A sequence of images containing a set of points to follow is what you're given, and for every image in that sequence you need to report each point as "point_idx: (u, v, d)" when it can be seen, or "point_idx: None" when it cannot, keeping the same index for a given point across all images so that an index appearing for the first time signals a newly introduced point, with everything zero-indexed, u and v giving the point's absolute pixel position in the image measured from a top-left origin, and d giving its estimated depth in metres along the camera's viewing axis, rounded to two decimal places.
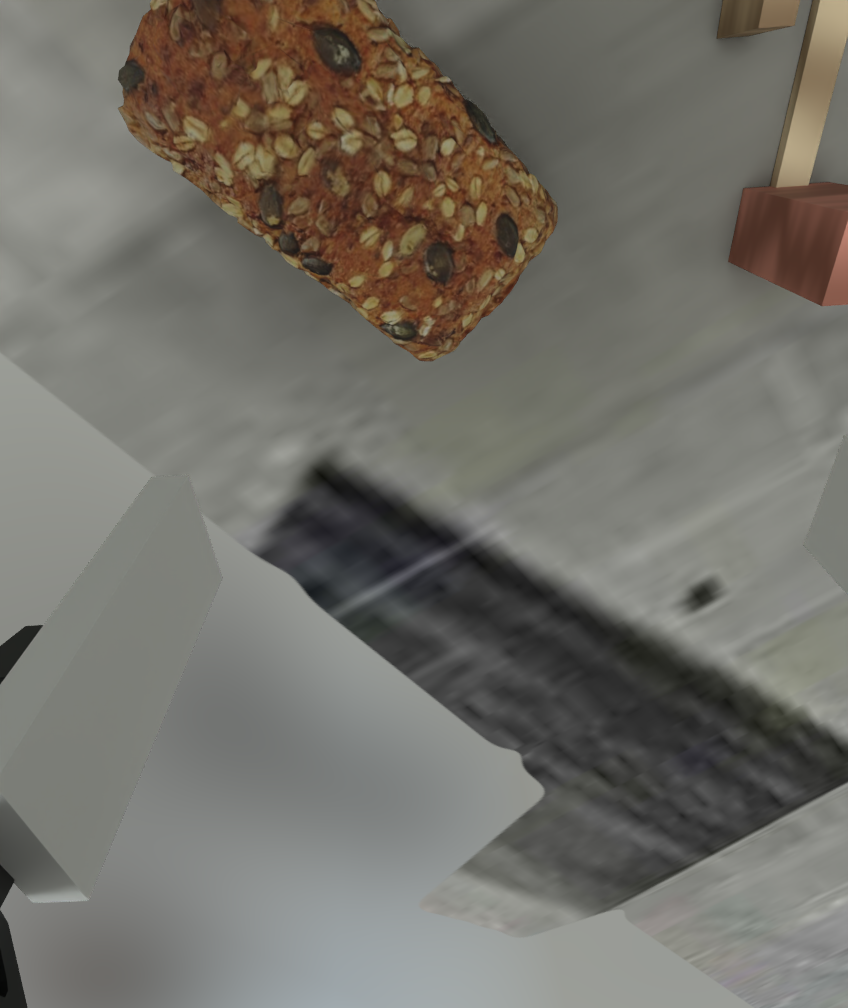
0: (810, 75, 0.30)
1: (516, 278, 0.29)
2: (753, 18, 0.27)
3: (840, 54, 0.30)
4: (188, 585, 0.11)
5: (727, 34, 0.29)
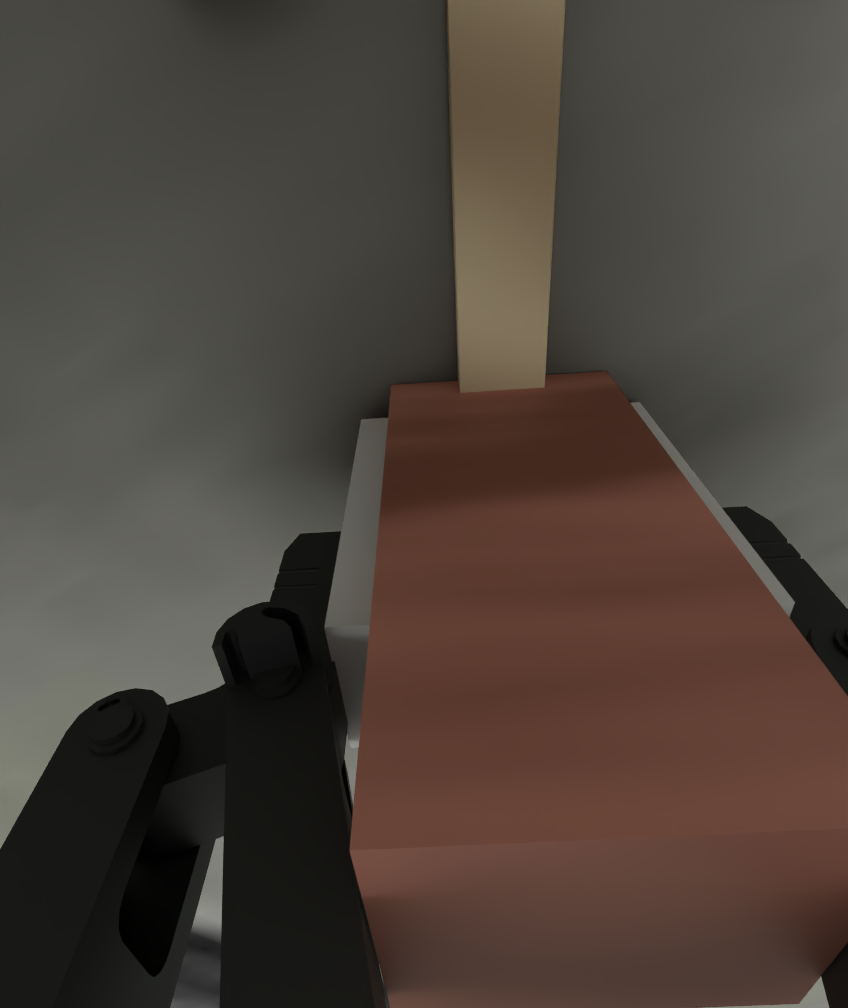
0: (476, 99, 0.10)
1: None
2: None
3: (555, 34, 0.09)
4: None
5: None
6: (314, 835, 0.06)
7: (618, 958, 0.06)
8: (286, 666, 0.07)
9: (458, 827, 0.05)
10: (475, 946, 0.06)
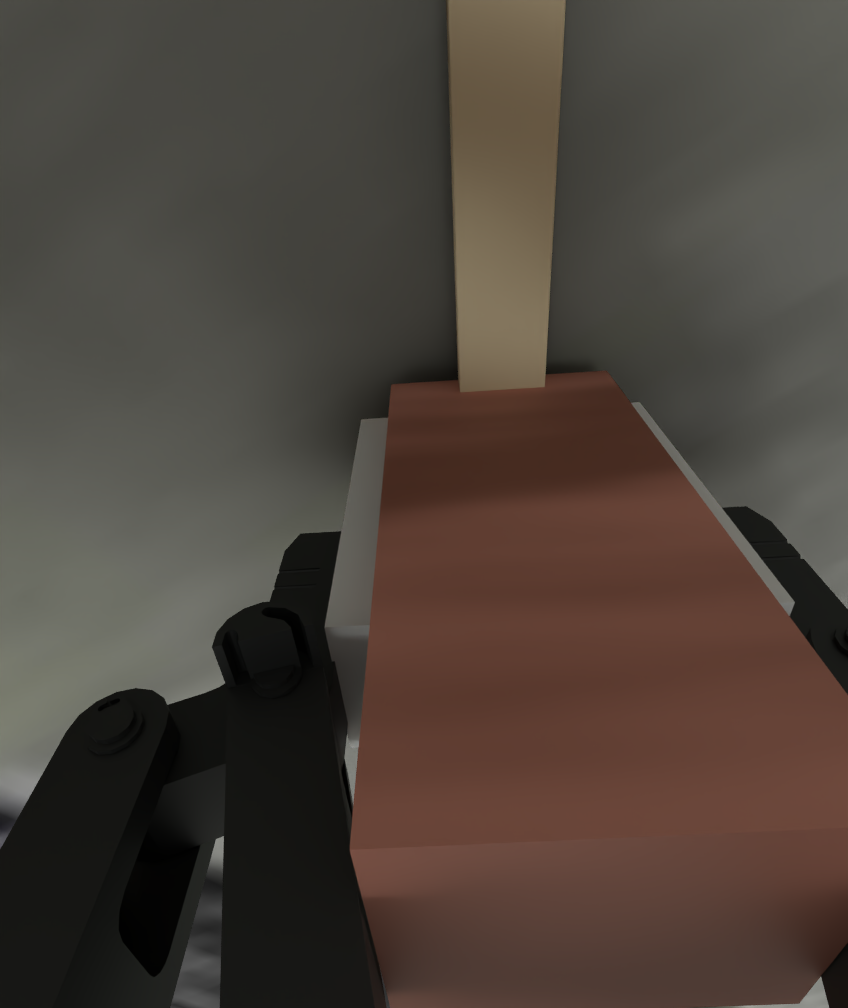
0: (476, 98, 0.10)
1: None
2: None
3: (555, 33, 0.09)
4: None
5: None
6: (314, 835, 0.06)
7: (619, 958, 0.06)
8: (286, 666, 0.07)
9: (458, 827, 0.05)
10: (474, 945, 0.06)
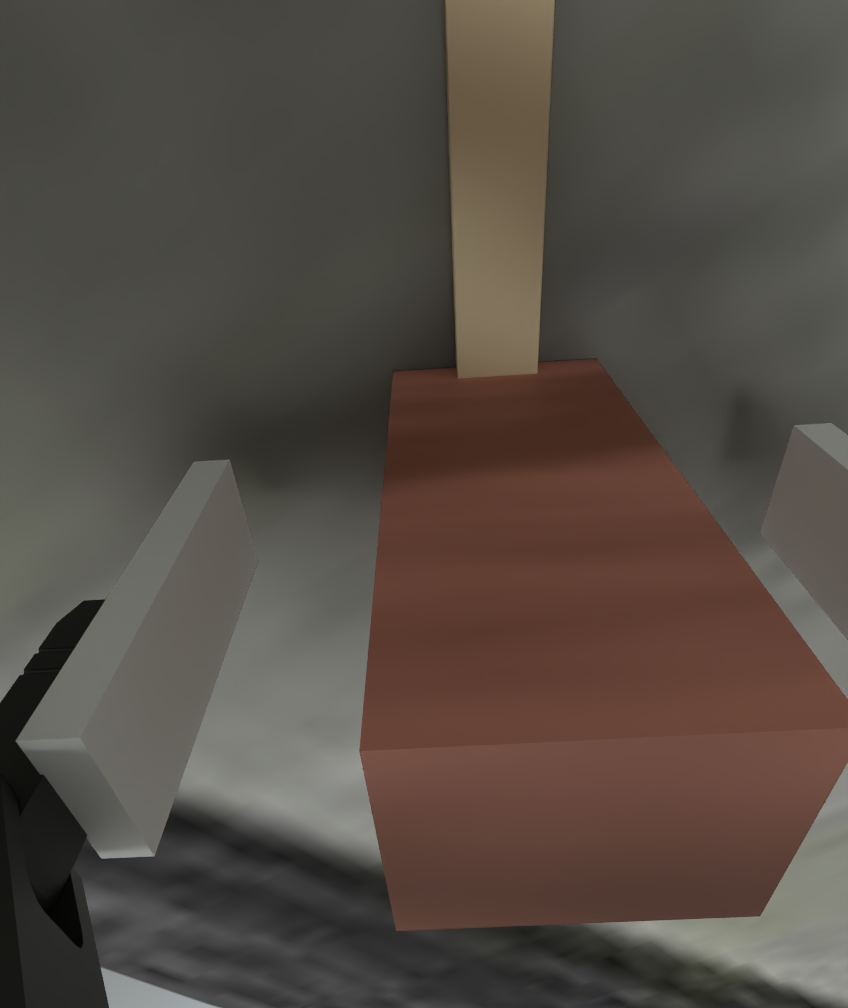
0: (472, 103, 0.11)
1: None
2: None
3: (545, 43, 0.10)
4: (230, 566, 0.12)
5: None
6: None
7: (595, 866, 0.07)
8: None
9: (452, 733, 0.06)
10: (468, 851, 0.07)
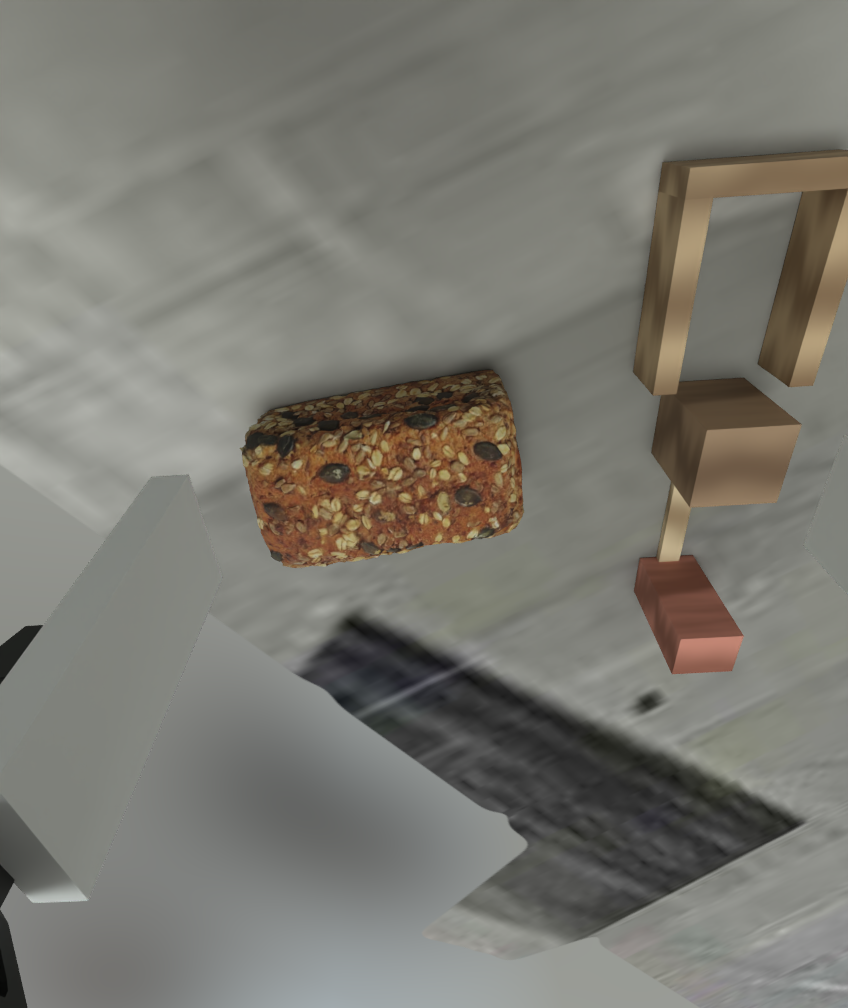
0: (673, 514, 0.50)
1: (517, 453, 0.39)
2: (650, 385, 0.41)
3: (689, 506, 0.50)
4: (188, 585, 0.11)
5: (638, 377, 0.43)
6: None
7: (707, 659, 0.47)
8: None
9: (691, 637, 0.46)
10: (689, 656, 0.47)
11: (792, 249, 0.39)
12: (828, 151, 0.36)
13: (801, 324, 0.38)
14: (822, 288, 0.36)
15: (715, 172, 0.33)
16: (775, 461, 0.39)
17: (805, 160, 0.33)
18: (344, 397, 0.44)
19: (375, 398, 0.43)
